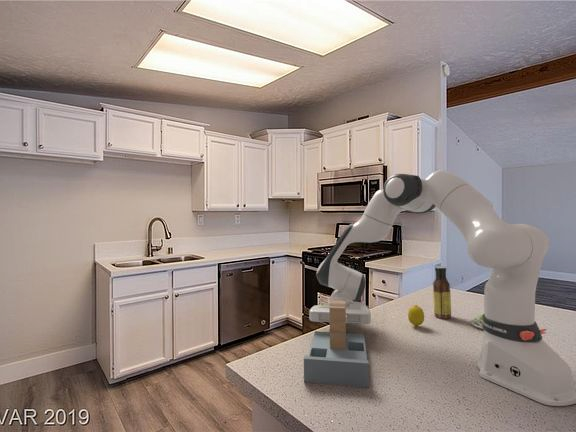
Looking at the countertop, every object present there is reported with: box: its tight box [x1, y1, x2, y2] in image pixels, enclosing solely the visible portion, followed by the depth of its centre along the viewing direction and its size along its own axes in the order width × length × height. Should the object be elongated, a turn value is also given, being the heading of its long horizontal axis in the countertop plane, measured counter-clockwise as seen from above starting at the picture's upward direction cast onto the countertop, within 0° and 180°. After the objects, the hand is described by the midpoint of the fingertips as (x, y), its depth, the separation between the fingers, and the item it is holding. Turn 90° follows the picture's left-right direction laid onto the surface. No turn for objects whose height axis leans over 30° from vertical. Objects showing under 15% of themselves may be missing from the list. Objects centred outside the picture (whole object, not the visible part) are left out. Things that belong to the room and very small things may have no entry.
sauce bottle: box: [432, 266, 452, 320], centre depth 130 cm, size 6×6×20 cm
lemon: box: [407, 304, 425, 328], centre depth 119 cm, size 6×6×8 cm
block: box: [329, 300, 347, 349], centre depth 99 cm, size 8×4×12 cm, turn 169°
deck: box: [303, 330, 370, 388], centre depth 94 cm, size 26×16×6 cm, turn 169°
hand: (338, 322), depth 103 cm, fingers closed
